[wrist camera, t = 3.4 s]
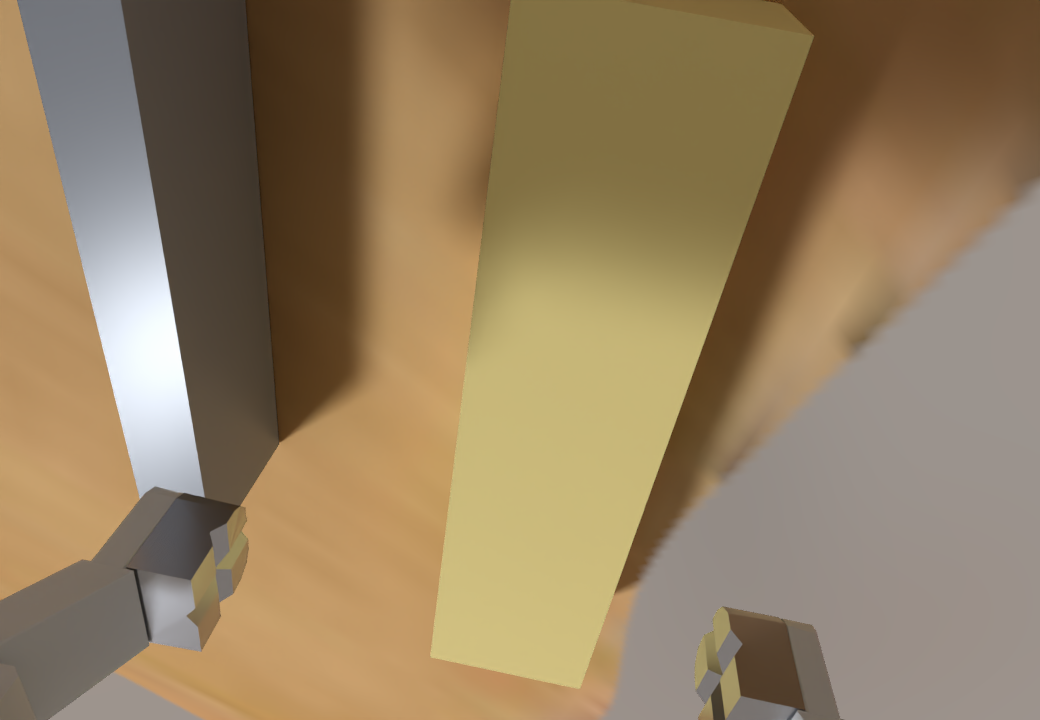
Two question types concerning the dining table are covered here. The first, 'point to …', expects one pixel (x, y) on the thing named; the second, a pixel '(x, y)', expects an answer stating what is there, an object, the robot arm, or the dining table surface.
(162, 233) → the pair of grey bars
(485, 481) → the pale yellow strip
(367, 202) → the dining table surface
